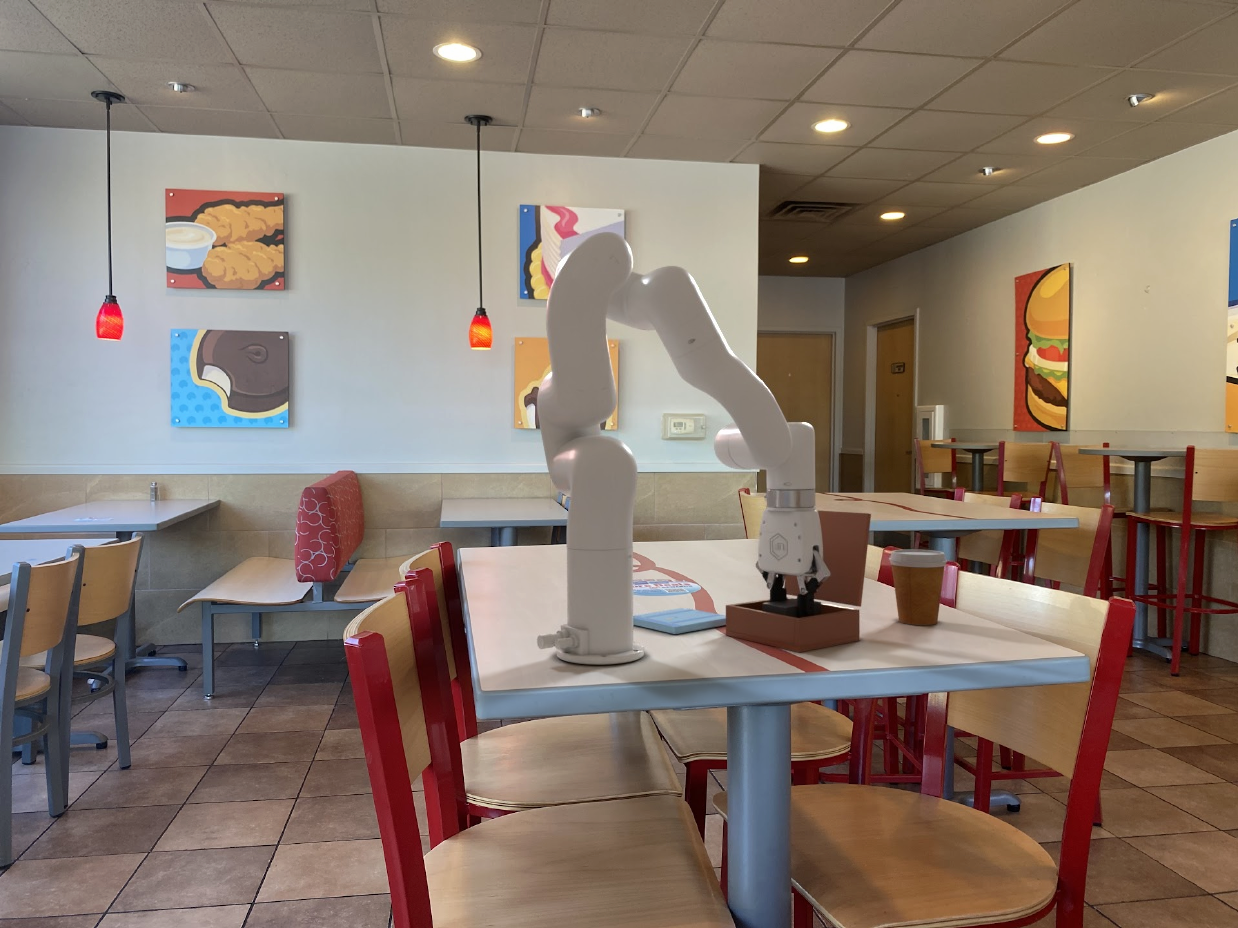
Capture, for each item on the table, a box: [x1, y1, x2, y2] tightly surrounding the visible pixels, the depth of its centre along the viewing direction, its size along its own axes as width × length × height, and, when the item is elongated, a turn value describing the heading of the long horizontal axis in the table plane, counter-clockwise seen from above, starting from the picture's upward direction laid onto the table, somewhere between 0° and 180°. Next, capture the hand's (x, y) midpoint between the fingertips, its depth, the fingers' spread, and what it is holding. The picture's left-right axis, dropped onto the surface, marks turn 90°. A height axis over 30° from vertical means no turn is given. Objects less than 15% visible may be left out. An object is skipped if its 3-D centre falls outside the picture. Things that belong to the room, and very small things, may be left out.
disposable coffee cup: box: [888, 549, 948, 626], centre depth 148 cm, size 10×10×12 cm
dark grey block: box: [763, 597, 822, 618], centre depth 136 cm, size 8×5×3 cm, turn 126°
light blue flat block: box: [633, 607, 726, 635], centre depth 147 cm, size 14×12×1 cm
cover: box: [783, 510, 872, 608], centre depth 140 cm, size 14×16×1 cm
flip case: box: [725, 596, 861, 653], centre depth 136 cm, size 14×16×5 cm
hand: (791, 615), depth 136 cm, fingers closed on dark grey block, 5 cm apart
